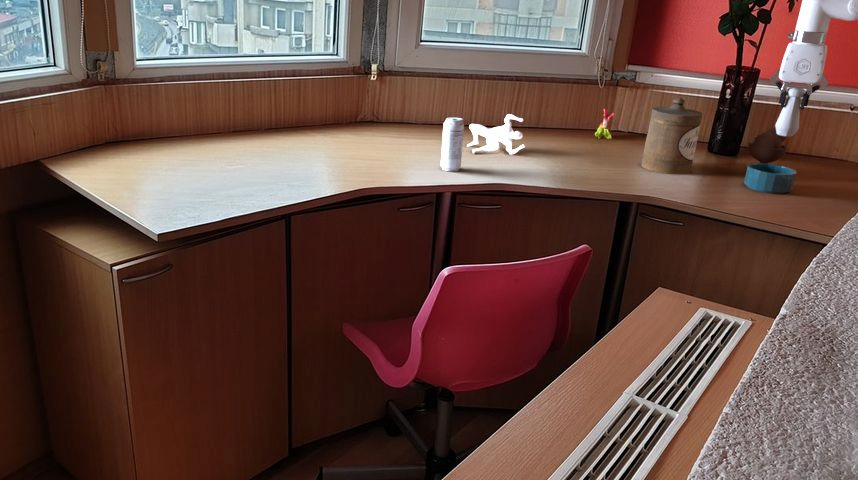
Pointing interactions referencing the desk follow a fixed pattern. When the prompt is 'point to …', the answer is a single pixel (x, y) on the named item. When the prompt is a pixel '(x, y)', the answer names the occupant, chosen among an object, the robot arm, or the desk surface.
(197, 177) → the desk surface
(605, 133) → the bird rattle
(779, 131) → the salt shaker
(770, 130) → the brown rounded lumpy piece
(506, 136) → the person figurine
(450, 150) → the energy drink can
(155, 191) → the desk surface
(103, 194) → the desk surface
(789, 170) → the bowl
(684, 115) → the wooden container
